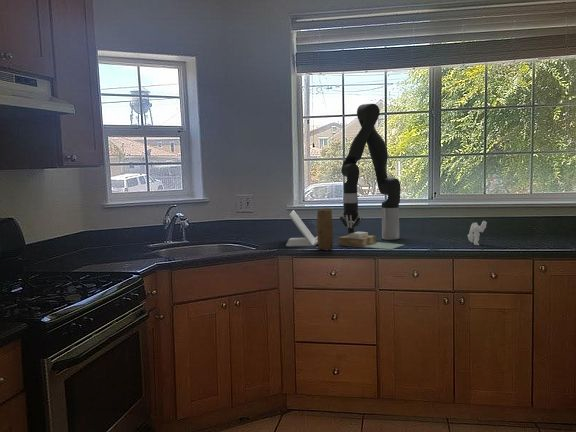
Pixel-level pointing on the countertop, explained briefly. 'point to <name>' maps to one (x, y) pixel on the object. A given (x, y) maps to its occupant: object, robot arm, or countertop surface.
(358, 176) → the robot arm
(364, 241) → the board
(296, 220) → the tablet stand
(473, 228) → the figurine
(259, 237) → the countertop surface
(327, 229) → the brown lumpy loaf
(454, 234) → the countertop surface
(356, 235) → the pale grey rectangular block
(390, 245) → the mat
